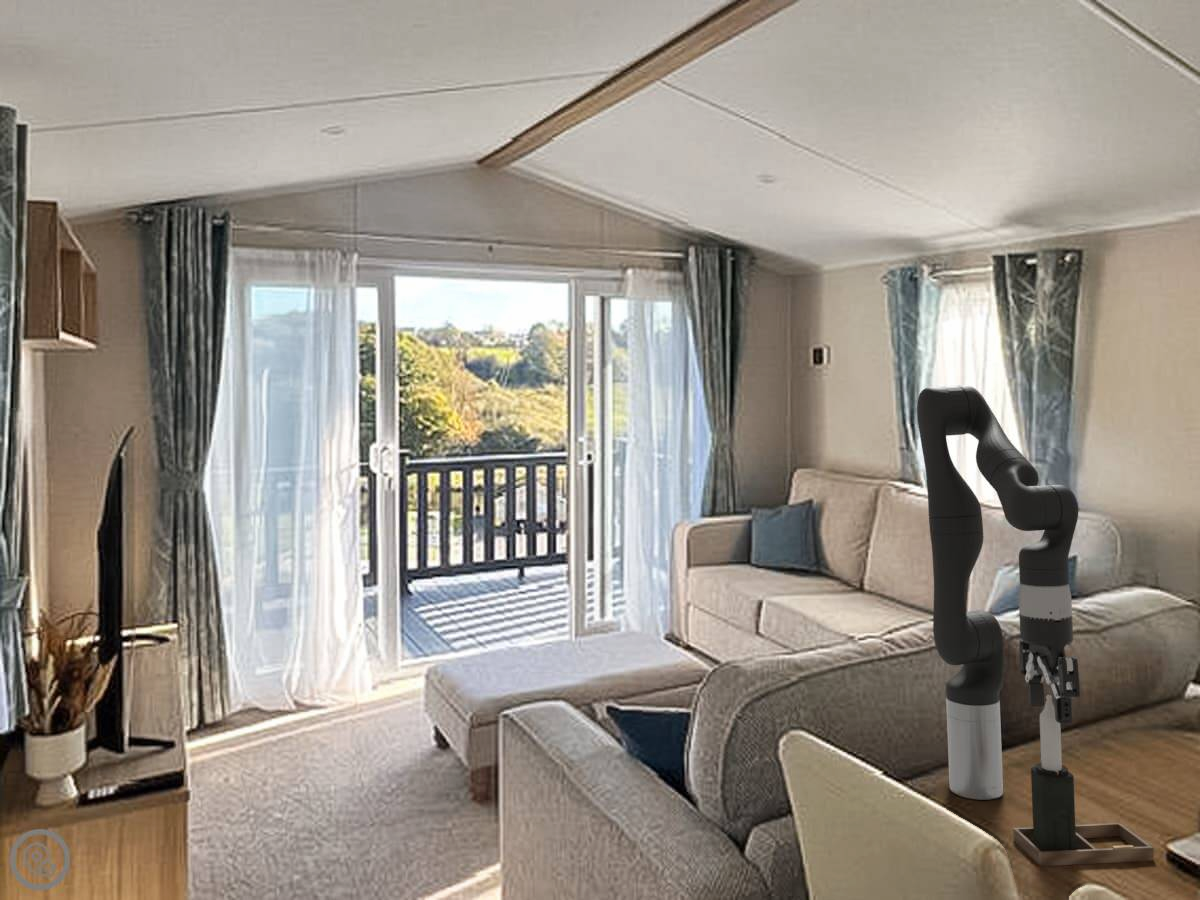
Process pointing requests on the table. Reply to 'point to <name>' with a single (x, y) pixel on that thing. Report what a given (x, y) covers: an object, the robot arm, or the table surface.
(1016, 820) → the table surface
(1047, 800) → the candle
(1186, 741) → the table surface
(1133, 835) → the divided wooden tray
